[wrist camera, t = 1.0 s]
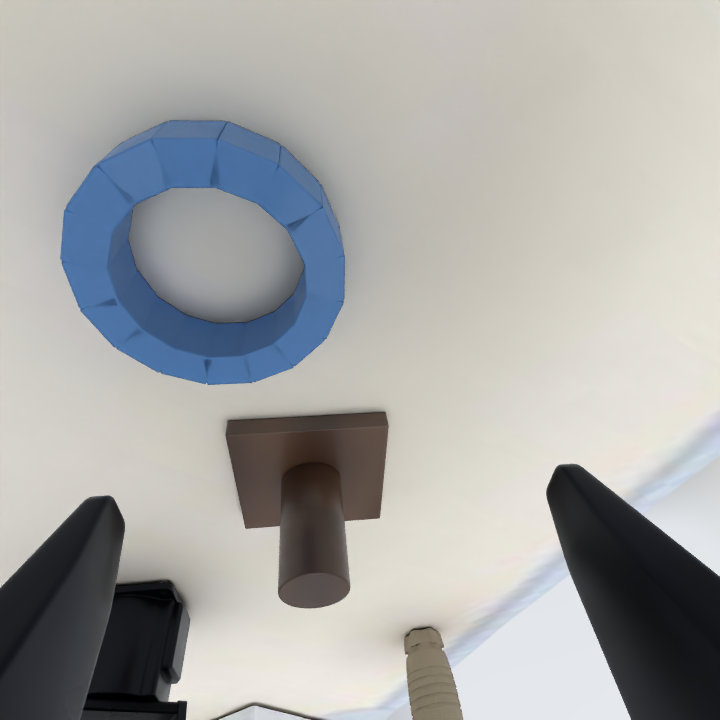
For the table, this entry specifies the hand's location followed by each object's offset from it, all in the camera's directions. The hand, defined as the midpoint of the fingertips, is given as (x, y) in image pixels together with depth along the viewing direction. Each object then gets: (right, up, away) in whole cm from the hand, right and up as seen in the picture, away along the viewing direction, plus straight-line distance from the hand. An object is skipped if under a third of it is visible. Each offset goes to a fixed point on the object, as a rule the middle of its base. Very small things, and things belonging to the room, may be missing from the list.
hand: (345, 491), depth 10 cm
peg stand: (-2, -3, +17) cm, 17 cm away
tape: (-5, +7, +8) cm, 12 cm away
